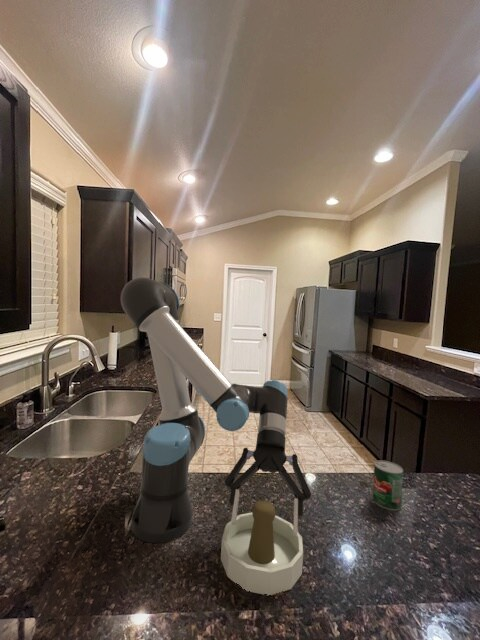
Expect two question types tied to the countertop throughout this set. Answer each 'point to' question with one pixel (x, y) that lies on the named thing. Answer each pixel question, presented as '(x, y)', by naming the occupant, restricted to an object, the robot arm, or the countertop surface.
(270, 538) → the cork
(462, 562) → the countertop surface
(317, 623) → the countertop surface
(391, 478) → the canned tomato
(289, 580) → the bowl
